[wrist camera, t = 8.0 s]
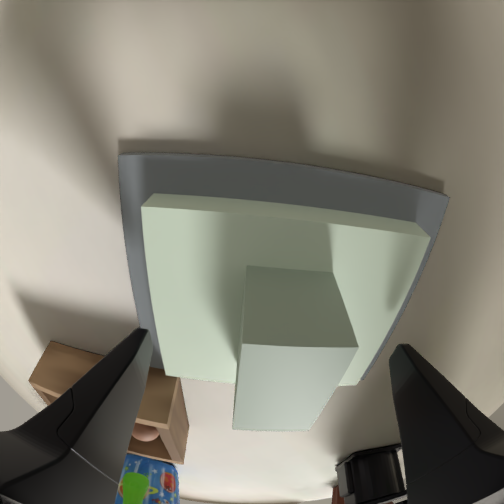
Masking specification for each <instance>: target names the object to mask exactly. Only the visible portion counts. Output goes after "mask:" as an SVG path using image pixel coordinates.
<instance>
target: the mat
mask: <svg viewBox="0 0 504 504" xmlns="http://www.w3.org/2000/svg"><path fill="white" fill-rule="evenodd" d="M118 167H119V186H120V199H121V211H122V221H123V230H124V238H125V246H126V253H127V260H128V266H129V272H130V278H131V284H132V290H133V295H134V300H135V305H136V310H137V315H138V319H139V324H140V328H144V329H148V330H149V331H150V335H151V339H152V344H153V351H152V356H151V361H150V367H154V368H159V369H164V365H163V360H162V355H161V351H160V346H159V341H158V336H157V330H156V325H155V319H154V313H153V307H152V301H151V295H150V288H149V281H148V273H147V265H146V257H145V248H144V238H143V226H142V214H141V206H142V205H143V204H144V203H145V202H146V201H147V200H148V199H149V198H150V197H151V196H152V195H153V194H154V193H159V194H177V195H193V196H207V197H220V198H232V199H243V200H254V201H264V202H274V203H283V204H292V205H300V206H309V207H317V208H324V209H332V210H339V211H346V212H353V213H360V214H367V215H373V216H379V217H386V218H392V219H398V220H404V221H409V222H415V223H417V224H418V225H419V226H420V227H421V228H422V229H423V230H424V231H425V232H426V233H427V234H428V235H429V236H430V237H431V238H430V241H429V244H428V246H427V249H426V252H425V254H424V257H423V259H422V262H421V264H420V266H419V269H418V271H417V274H416V276H415V278H414V280H413V283H412V285H411V287H410V289H409V291H408V294H407V296H406V298H405V300H404V302H403V304H402V306H401V308H400V310H399V312H398V314H397V316H396V318H395V320H394V322H393V324H392V326H391V328H390V329H389V331H388V333H387V335H386V337H385V339H384V340H383V342H382V344H381V346H380V347H379V349H378V351H377V353H376V354H375V356H374V358H373V359H372V361H371V363H370V364H369V366H368V368H367V369H366V371H365V372H364V374H363V376H362V377H361V379H360V380H364V378H365V377H366V375H367V374H368V372H369V371H370V369H371V368H372V366H373V364H374V363H375V361H376V360H377V358H378V356H379V355H380V353H381V351H382V350H383V348H384V346H385V345H386V343H387V341H388V339H389V338H390V336H391V334H392V332H393V330H394V329H395V327H396V325H397V323H398V321H399V319H400V317H401V315H402V314H403V312H404V310H405V308H406V306H407V304H408V302H409V300H410V298H411V295H412V293H413V291H414V289H415V287H416V285H417V283H418V280H419V278H420V276H421V274H422V271H423V269H424V267H425V264H426V262H427V260H428V257H429V255H430V252H431V250H432V247H433V245H434V242H435V239H436V237H437V234H438V231H439V229H440V226H441V223H442V220H443V217H444V214H445V211H446V208H447V205H448V202H449V198H450V197H448V196H447V195H445V194H443V193H439V192H436V191H432V190H428V189H424V188H421V187H417V186H413V185H409V184H404V183H400V182H396V181H391V180H387V179H382V178H378V177H373V176H368V175H363V174H358V173H352V172H347V171H341V170H336V169H330V168H324V167H317V166H311V165H304V164H297V163H289V162H281V161H273V160H264V159H254V158H244V157H232V156H219V155H203V154H182V153H122V154H120V155H118Z"/></svg>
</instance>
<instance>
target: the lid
mask: <svg viewBox="0 0 504 504" xmlns="http://www.w3.org/2000/svg"><path fill="white" fill-rule="evenodd" d="M141 214H142V226H143V238H144V248H145V257H146V265H147V273H148V281H149V288H150V295H151V301H152V307H153V313H154V319H155V325H156V330H157V336H158V341H159V346H160V351H161V355H162V360H163V365H164V369H165V373H166V375H168V376H174V377H181V378H188V379H195V380H203V381H211V382H221V383H232V384H235V397H234V412H233V427H232V429H234V430H249V431H309V430H310V428H311V427H312V425H313V424H314V422H315V421H316V419H317V418H318V416H319V415H320V413H321V412H322V410H323V409H324V407H325V406H326V404H327V402H328V401H329V399H330V398H331V396H332V394H333V393H334V391H335V389H336V388H337V386H350V385H357V383H358V382H359V380H360V379H361V377H362V376H363V374H364V372H365V371H366V369H367V368H368V366H369V364H370V363H371V361H372V359H373V358H374V356H375V354H376V353H377V351H378V349H379V347H380V346H381V344H382V342H383V340H384V339H385V337H386V335H387V333H388V331H389V329H390V328H391V326H392V324H393V322H394V320H395V318H396V316H397V314H398V312H399V310H400V308H401V306H402V304H403V302H404V300H405V298H406V296H407V294H408V291H409V289H410V287H411V285H412V283H413V280H414V278H415V276H416V274H417V271H418V269H419V266H420V264H421V262H422V259H423V257H424V254H425V252H426V249H427V246H428V244H429V241H430V238H431V237H430V236H429V235H428V234H427V233H426V232H425V231H424V230H423V229H422V228H421V227H420V226H419V225H418V224H417V223H415V222H409V221H404V220H398V219H392V218H386V217H379V216H373V215H367V214H360V213H353V212H346V211H339V210H332V209H324V208H317V207H309V206H300V205H292V204H283V203H274V202H264V201H254V200H243V199H232V198H220V197H207V196H193V195H177V194H159V193H154V194H153V195H152V196H151V197H150V198H149V199H148V200H147V201H146V202H145V203H144V204H143V205H142V206H141Z"/></svg>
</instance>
